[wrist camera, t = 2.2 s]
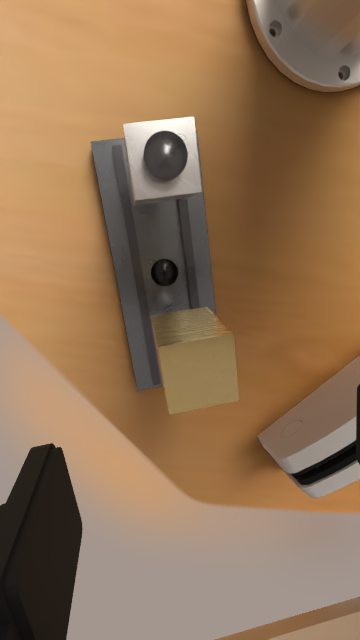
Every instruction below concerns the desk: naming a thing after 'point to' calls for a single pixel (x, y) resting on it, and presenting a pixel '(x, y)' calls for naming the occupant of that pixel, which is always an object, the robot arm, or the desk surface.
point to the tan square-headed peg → (195, 359)
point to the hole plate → (155, 229)
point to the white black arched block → (319, 436)
